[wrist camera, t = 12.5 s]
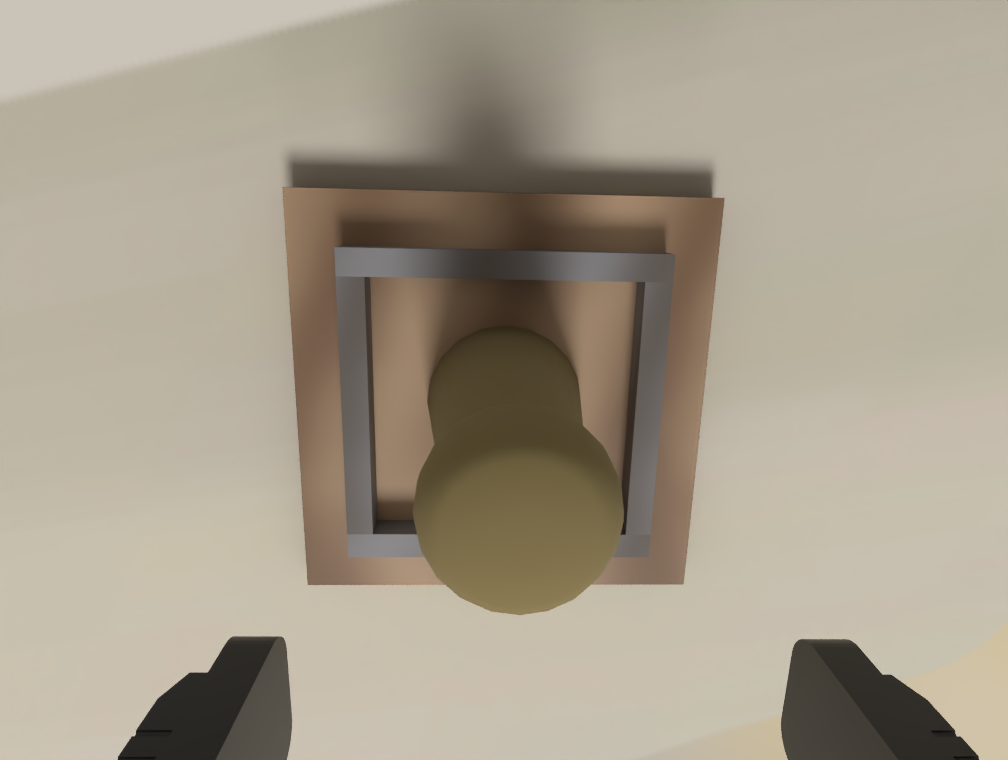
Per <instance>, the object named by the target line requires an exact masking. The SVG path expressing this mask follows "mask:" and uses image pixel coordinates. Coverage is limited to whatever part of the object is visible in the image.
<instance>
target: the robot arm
mask: <svg viewBox="0 0 1008 760" xmlns="http://www.w3.org/2000/svg"><path fill="white" fill-rule="evenodd" d="M291 731H292V713H291V700H290V687H289V674H288V662H287V649H286V643H285V640H284V638H283V637H231V638H230V639H229V640H228V641H227V643H226V644H225V646H224V647H223V649H222V651H221V652H220V654H219V656H218V657H217V659H216V660H215V662H214V664H213V665H212V667H211V669H210V670H209V672H208V673H189V674H188V675H186V676H185V677H184V678H183V679H181V680H180V681H179V682H178V683H177V684H175V685H174V686H173V687H172V688H170V689H169V690H168V691H167V692H166V693H164V694H163V695H162V696H161V697H159V698H158V699H157V701H156V702H155V704H154V705H153V707H152V708H151V709H150V711H149V712H148V714H147V715H146V717H145V718H144V720H143V721H142V723H141V724H140V726H139V727H138V729H137V730H136V735H135V736H132V737H131V739H130V740H129V742H128V743H127V745H126V746H125V748H124V749H123V750H122V752H121V753H120V755H119V756H118V760H287V756H288V751H289V746H290V740H291ZM781 731H782V738H783V744H784V748H785V752H786V755H787V758H788V760H979V758H978V755H977V754H976V753H975V752H974V751H973V750H972V749H971V748H970V747H969V745H968V744H967V743H966V742H965V741H964V740H963V739H962V738H961V737H957V736H956V734H955V730H954V729H953V728H952V727H951V726H950V724H949V723H948V722H947V721H946V720H945V719H944V718H943V717H942V716H941V715H940V713H939V712H937V710H936V709H935V708H934V707H933V706H932V705H931V704H930V702H929V701H928V700H926V699H925V698H924V697H922V696H921V695H919V694H918V693H916V692H915V691H913V690H912V689H911V688H909V687H908V686H906V685H905V684H904V683H902V682H901V681H899V680H898V679H896V678H895V677H894V676H892V675H882V674H881V673H880V671H879V670H878V669H877V668H876V667H875V666H874V664H873V663H872V662H871V661H870V660H869V659H868V657H867V656H866V655H865V654H864V653H863V652H862V651H861V649H860V648H859V647H858V646H857V645H856V644H855V643H854V642H852V641H850V640H846V639H801V640H798V641H797V642H796V643H795V645H794V647H793V651H792V657H791V663H790V669H789V675H788V681H787V687H786V694H785V700H784V706H783V712H782V719H781Z"/></svg>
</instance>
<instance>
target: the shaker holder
mask: <svg viewBox="0 0 1008 760" xmlns="http://www.w3.org/2000/svg"><path fill="white" fill-rule="evenodd" d="M283 202H284V218H285V233H286V249H287V265H288V281H289V296H290V312H291V328H292V343H293V359H294V375H295V391H296V406H297V422H298V438H299V453H300V469H301V485H302V501H303V516H304V532H305V548H306V563H307V579H308V585H445V584H444V583H443V582H442V581H440V580H439V579H438V578H437V577H436V575H435V573H434V572H433V570H432V568H431V567H430V565H429V563H428V562H427V560H426V558H425V557H424V555H423V553H422V551H421V548H420V545H419V542H418V537H417V532H416V527H415V522H414V517H413V506H414V499H415V493H416V486H417V480H418V477H419V473H420V471H421V469H422V467H423V465H424V463H425V461H426V459H427V457H428V456H429V454H430V452H431V450H432V448H433V446H434V439H433V433H432V427H431V421H430V415H429V410H428V404H427V399H428V393H429V386H430V379H431V377H432V375H433V373H434V371H435V369H436V367H437V365H438V363H439V361H440V359H441V357H442V356H443V355H444V354H445V353H446V352H447V351H448V350H449V349H450V348H451V347H452V346H453V345H454V344H455V343H456V342H457V341H458V340H460V339H462V338H464V337H466V336H468V335H470V334H472V333H474V332H476V331H478V330H480V329H486V328H493V327H499V326H511V327H517V328H523V329H529V330H531V331H533V332H535V333H537V334H539V335H541V336H543V337H545V338H547V339H549V340H551V341H552V342H553V343H554V344H555V345H556V346H557V347H558V348H559V349H560V350H561V351H562V352H563V353H564V354H565V355H566V356H567V357H568V359H569V361H570V363H571V365H572V367H573V369H574V372H575V374H576V376H577V378H578V383H579V391H580V400H581V409H582V420H583V426H584V427H585V428H586V429H587V430H588V431H589V432H590V433H591V434H592V435H593V436H594V437H595V438H596V439H597V440H598V441H599V442H600V443H601V444H602V445H603V447H604V448H605V450H606V452H607V454H608V456H609V458H610V460H611V462H612V464H613V466H614V468H615V470H616V472H617V474H618V476H619V478H620V480H621V488H622V498H623V507H624V522H623V526H622V530H621V534H620V538H619V543H618V547H617V551H616V552H615V554H614V555H613V557H612V559H611V560H610V562H609V563H608V565H607V567H606V568H605V570H604V571H603V573H602V575H601V576H600V577H599V578H598V579H597V580H596V581H594V582H593V583H592V584H684V574H685V565H686V555H687V546H688V537H689V527H690V518H691V508H692V499H693V489H694V480H695V471H696V461H697V452H698V442H699V433H700V424H701V414H702V405H703V395H704V386H705V376H706V367H707V358H708V348H709V339H710V329H711V320H712V311H713V301H714V292H715V282H716V273H717V263H718V254H719V245H720V235H721V226H722V216H723V207H724V198H699V197H659V196H619V195H578V194H538V193H497V192H457V191H416V190H376V189H335V188H295V187H283Z"/></svg>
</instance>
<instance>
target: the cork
mask: <svg viewBox="0 0 1008 760" xmlns="http://www.w3.org/2000/svg"><path fill="white" fill-rule="evenodd" d="M427 404H428V410H429V415H430V421H431V427H432V433H433V439H434V446H433V448H432V450H431V452H430V454H429V456H428V457H427V459H426V461H425V463H424V465H423V467H422V469H421V471H420V473H419V477H418V480H417V486H416V493H415V499H414V506H413V517H414V522H415V527H416V532H417V537H418V542H419V545H420V548H421V551H422V553H423V555H424V557H425V558H426V560H427V562H428V563H429V565H430V567H431V568H432V570H433V572H434V573H435V575H436V577H437V578H438V579H439V580H440V581H442V582H443V583H444V584H445V585H446V586H447V587H449V588H450V589H451V590H452V591H453V592H454V593H456V594H457V595H458V596H459V597H461V598H462V599H464V600H467V601H469V602H471V603H473V604H476V605H478V606H480V607H483V608H485V609H487V610H490V611H492V612H500V613H508V614H516V615H523V614H530V613H536V612H543V611H549V610H551V609H553V608H555V607H558V606H560V605H562V604H564V603H566V602H569V601H571V600H573V599H575V598H576V597H577V596H578V595H579V594H581V593H582V592H583V591H584V590H585V589H586V588H587V587H589V586H590V585H591V584H592V583H593V582H594V581H596V580H597V579H598V578H599V577H600V576H601V575H602V573H603V571H604V570H605V568H606V567H607V565H608V563H609V562H610V560H611V559H612V557H613V555H614V554H615V552H616V551H617V547H618V543H619V538H620V534H621V530H622V526H623V522H624V507H623V498H622V488H621V480H620V478H619V476H618V474H617V472H616V470H615V468H614V466H613V464H612V462H611V460H610V458H609V456H608V454H607V452H606V450H605V448H604V447H603V445H602V444H601V443H600V442H599V441H598V440H597V439H596V438H595V437H594V436H593V435H592V434H591V433H590V432H589V431H588V430H587V429H586V428H585V427H584V426H583V420H582V409H581V400H580V391H579V383H578V378H577V376H576V374H575V372H574V369H573V367H572V365H571V363H570V361H569V359H568V357H567V356H566V355H565V354H564V353H563V352H562V351H561V350H560V349H559V348H558V347H557V346H556V345H555V344H554V343H553V342H552V341H551V340H549V339H547V338H545V337H543V336H541V335H539V334H537V333H535V332H533V331H531V330H529V329H523V328H517V327H511V326H499V327H493V328H486V329H480V330H478V331H476V332H474V333H472V334H470V335H468V336H466V337H464V338H462V339H460V340H458V341H457V342H456V343H455V344H454V345H453V346H452V347H451V348H450V349H449V350H448V351H447V352H446V353H445V354H444V355H443V356H442V357H441V359H440V361H439V363H438V365H437V367H436V369H435V371H434V373H433V375H432V377H431V379H430V386H429V393H428V399H427Z"/></svg>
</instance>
